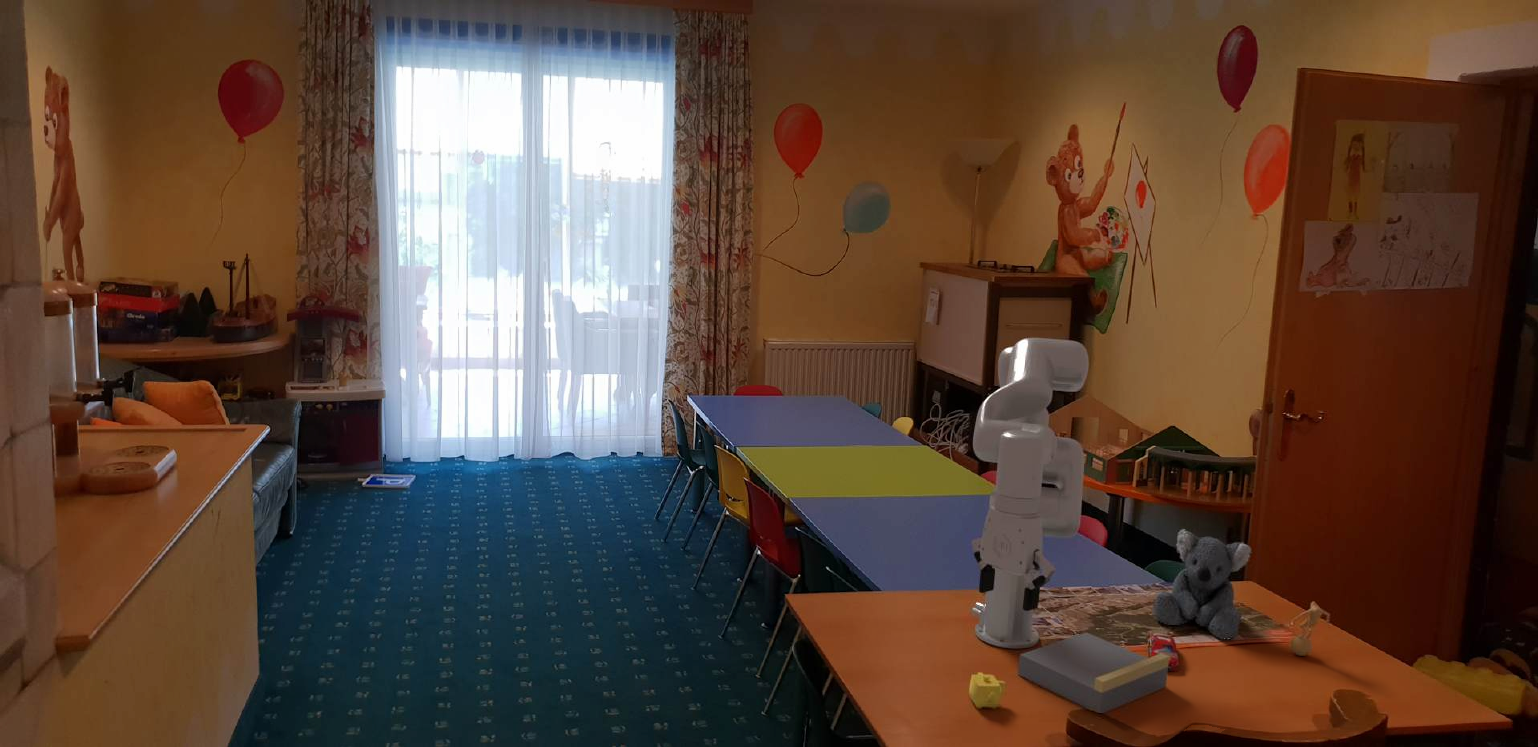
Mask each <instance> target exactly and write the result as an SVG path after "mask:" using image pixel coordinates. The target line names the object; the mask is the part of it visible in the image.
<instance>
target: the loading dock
mask: <svg viewBox="0 0 1538 747" xmlns="http://www.w3.org/2000/svg"><path fill="white" fill-rule="evenodd" d="M1168 664H1169V656H1167V655H1164V654H1162V653H1161V654H1159V655H1156V656H1153V657H1151V658H1149V657H1146V656H1143V655H1141V654H1138V653H1136V652H1135V651H1132V650H1129V649H1127V648H1125V647H1122V646H1120V645H1117V644H1115V643H1112V642H1110V641H1108V640H1105V639H1103V638H1101V637H1098V636H1096V635H1094V634H1091V633H1089V632H1087V631H1086V632H1084V633H1081V634H1077V635H1075V636H1071V637H1069V638H1066V639H1061V640H1059V641H1056V642H1054V643H1051V644H1048V645H1045V646H1042V647H1039V648H1036V649H1032V650H1030V651H1027V652H1024V653H1021V654H1019V660H1018V669H1017V670H1018V671H1017V676H1019V675H1020V677H1021V676H1022V678H1023V677H1025V678H1026V679H1025V678H1024V679H1025V680H1027V679H1028V680H1027V681H1029V682H1032V681H1033V682H1032V683H1034V682H1035V683H1034V684H1036V685H1038V686H1040V685H1041V687H1042V686H1043V687H1042V688H1044V689H1046V688H1047V689H1046V690H1048V689H1049V691H1050V692H1052V693H1055V694H1056V693H1057V694H1056V695H1058V694H1059V695H1058V696H1060V695H1061V696H1060V697H1061V698H1065V699H1067V700H1069V701H1071V702H1073V703H1074V704H1077V705H1079V706H1081V707H1083V708H1085V709H1087V710H1089V709H1092V710H1095V711H1098V712H1100V713H1102V714H1104V713H1106V712H1109V711H1112V710H1114V709H1116V708H1119V707H1121V706H1123V705H1125V704H1128V703H1130V702H1133V701H1136V700H1138V699H1141V698H1143V697H1145V696H1147V695H1151V694H1153V693H1155V692H1158V691H1160V690H1162V689H1164V688H1166V686H1167V678H1168Z"/></svg>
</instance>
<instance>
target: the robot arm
mask: <svg viewBox="0 0 1538 747" xmlns="http://www.w3.org/2000/svg"><path fill="white" fill-rule="evenodd" d="M1089 365H1090V364H1089V355H1088V351H1087V348H1086V347H1085V346H1084V345H1083V344H1082V343H1080V342H1079V341H1075V340H1067V339H1055V338H1045V337H1043V338H1042V337H1028V338H1023V339H1021V340H1019V341H1017V342H1016V343H1015V344H1014V346H1009V347H1006V348H1005V349H1003V350H1002V351H1001V352H1000V353H999V357H998V362H997V373H998V374H997V377H998V382H999V388H998V389H997V390H995V391H993V393H991V394H990V395H989V396H987V397H986V398H985V400H984V401H982V404H981V405H980V406H979V409H978V411H977V414H976V415H977V416H976V421H975V424H974V425H975V426H974V431H973V437H972V448H973V452H974V454H975V456H976V457H977V458H978V459H979V460H980V461H983V462H989V463H996V464H997V466H996V467H997V468H996V476H995V477H996V479H995V480H996V481H995V488H994V489H992V491H991V493H990V497H989V509H988V511H987V515H986V516H985V517H986V519H985V520H984V526H983V529H982V530H983V532H982V536H981V537H979V538H975V539H972V540H971V547H972V550H973V552H974V553H973V556H974V559H975V560H976V562H977V569H978V570H980V572H979V584H978V592H979V593H981V594H984V593H985V601H984V602H985V604H983V603H981V602H978V601H977V602H976V603H975V604H974V607H973V608H971V611H970V612H971V614H972V616H973V615H974V616H975V617H978V618H979V621H978V622H977V624H975V626H974V627H975V628H974V634H975V635H976V637H977V638H978V639H979V640H981V641H983V642H985V643H987V644H989V645H992V646H996V647H999V648H1004V649H1013V650H1015V649H1028V648H1031V647H1033V646H1035V645H1037V644H1038V643H1039V638H1040V635H1039V633H1038V631H1037V630H1036V629H1035V628H1034V627H1033V620H1034V618H1033V616H1034V610H1036V609H1037V608H1038V607H1039V601H1040V592H1041V588H1042V587H1044V586H1045V584H1047V583H1048V582H1050V580H1051V578H1052V577H1053V575H1054V573H1055V572H1056V567H1055V566H1054V565H1053V564H1052V562H1050V561H1049V559H1047V558H1046V557H1045V556H1044V555H1043V545H1044V543H1043V541H1044V540H1043V537H1050V538H1059V539H1061V538H1062V539H1068V538H1072V537H1074V536H1076V534H1077V532H1078V531H1079V528H1080V524H1081V517H1082V505H1083V503H1082V502H1083V486H1084V473H1085V472H1084V471H1085V454H1084V450H1083V446H1082V445H1081V444H1080V443H1079V441H1077V440H1076V439H1073V438H1069V437H1063V436H1062V437H1061V436H1056V434H1055V432H1054V431H1053V429H1052V428H1051V427H1049V423H1050V421H1049V420H1050V415H1049V411H1048V409H1047V407H1048V406H1049V405H1050V404H1051V402H1052V400H1053V399H1052V398H1053V391H1059V392H1060V391H1061V392H1078V391H1080V390H1081V389H1082V388H1083V386H1084V384H1085V382H1086V380H1087V377H1088V372H1089V368H1090V366H1089ZM1042 484H1050V485H1055V486H1056V487H1055V488H1054V487H1047V486H1046V487H1045V486H1042ZM1040 570H1042V571H1041V573H1040Z"/></svg>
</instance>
